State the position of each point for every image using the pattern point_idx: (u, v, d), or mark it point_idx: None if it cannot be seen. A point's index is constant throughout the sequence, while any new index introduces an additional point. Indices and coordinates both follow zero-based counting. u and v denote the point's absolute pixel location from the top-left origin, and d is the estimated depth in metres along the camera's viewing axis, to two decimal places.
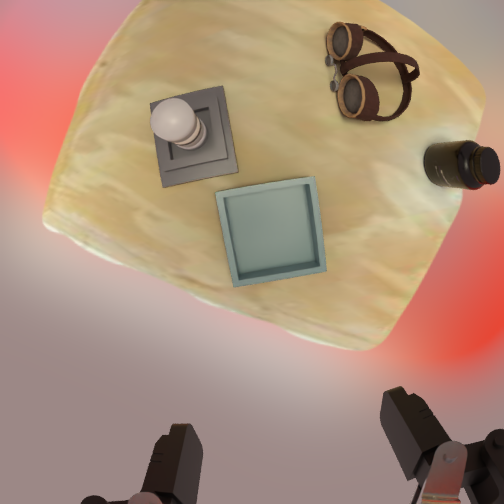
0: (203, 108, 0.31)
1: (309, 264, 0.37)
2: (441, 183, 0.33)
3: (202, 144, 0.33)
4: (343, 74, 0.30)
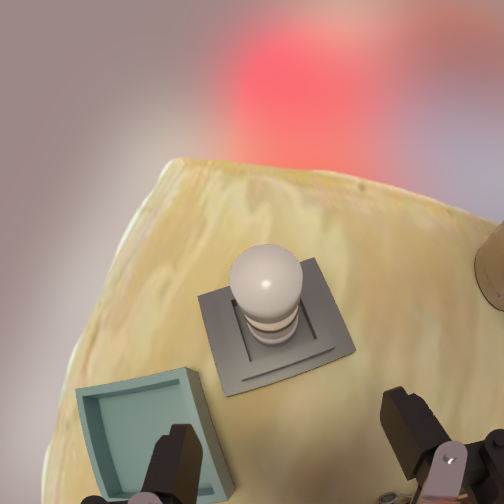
0: (314, 332, 0.22)
1: (113, 485, 0.16)
2: None
3: (259, 341, 0.23)
4: None
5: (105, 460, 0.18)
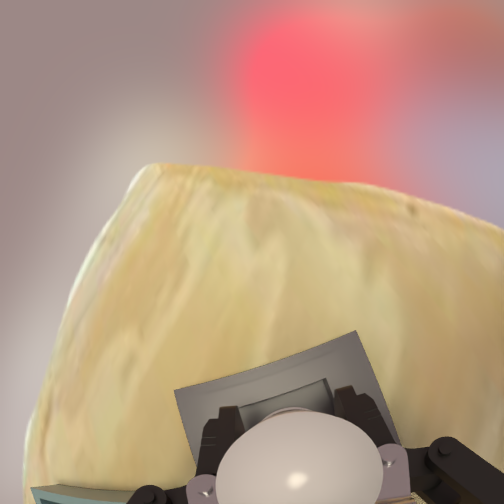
0: None
1: None
2: None
3: None
4: None
5: None
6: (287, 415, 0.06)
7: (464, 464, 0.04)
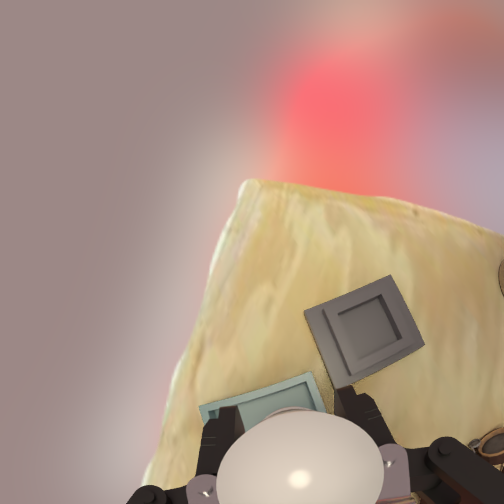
0: (399, 333, 0.27)
1: None
2: None
3: None
4: None
5: None
6: (288, 414, 0.06)
7: (464, 464, 0.04)
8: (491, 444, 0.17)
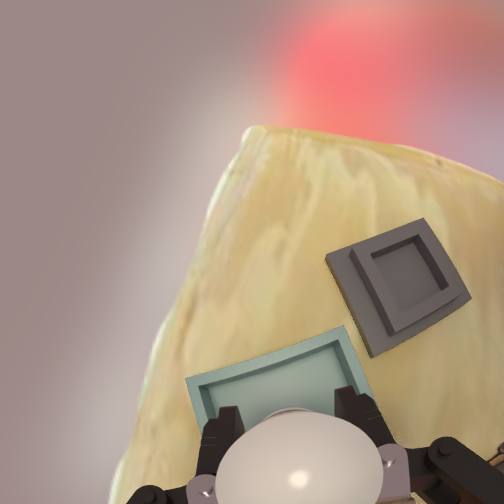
0: (445, 281, 0.21)
1: None
2: None
3: None
4: None
5: None
6: (287, 416, 0.06)
7: (464, 464, 0.04)
8: None
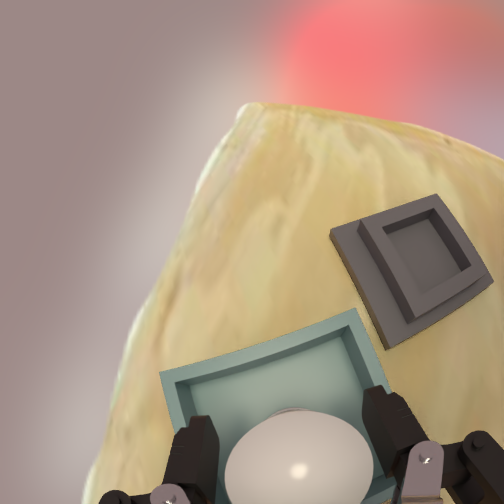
0: (466, 259, 0.17)
1: None
2: None
3: None
4: None
5: None
6: (288, 414, 0.07)
7: (493, 460, 0.04)
8: None
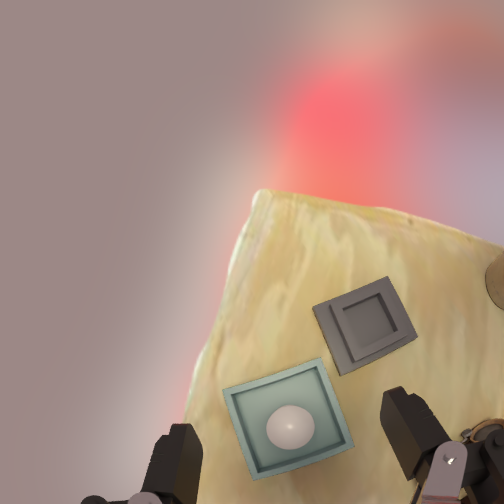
0: (395, 326, 0.32)
1: (256, 463, 0.26)
2: None
3: None
4: None
5: (249, 443, 0.27)
6: (286, 406, 0.22)
7: None
8: (481, 433, 0.21)
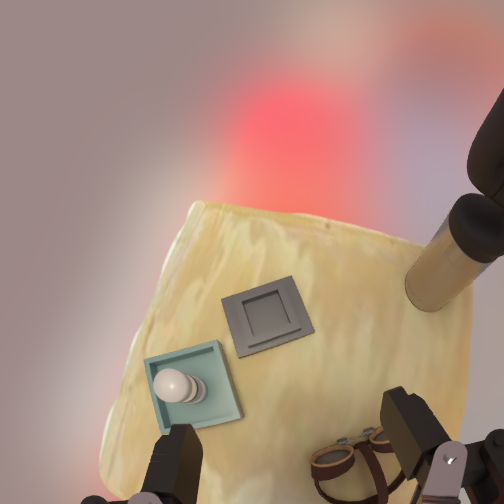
0: (289, 319, 0.41)
1: (167, 421, 0.35)
2: None
3: None
4: (355, 446, 0.30)
5: (162, 405, 0.36)
6: None
7: None
8: (383, 434, 0.30)
